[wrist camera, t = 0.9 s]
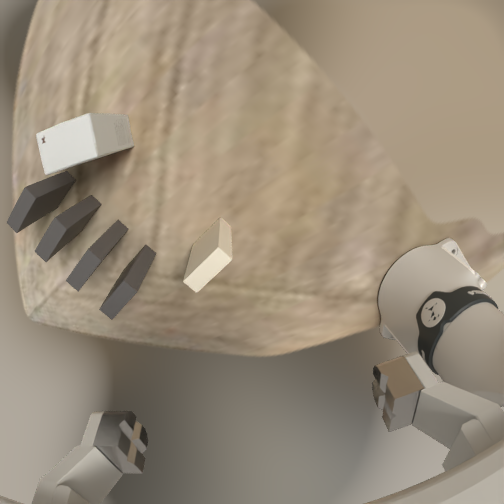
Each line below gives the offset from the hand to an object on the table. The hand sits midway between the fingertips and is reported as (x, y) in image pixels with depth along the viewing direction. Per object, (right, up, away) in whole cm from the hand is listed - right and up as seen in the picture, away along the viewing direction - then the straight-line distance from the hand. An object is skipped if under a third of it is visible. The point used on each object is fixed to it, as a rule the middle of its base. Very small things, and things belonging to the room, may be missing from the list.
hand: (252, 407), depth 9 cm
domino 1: (-25, +13, +26) cm, 38 cm away
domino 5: (-5, +7, +30) cm, 31 cm away
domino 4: (-15, +4, +31) cm, 34 cm away
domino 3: (-18, +7, +29) cm, 35 cm away
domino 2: (-21, +10, +28) cm, 36 cm away
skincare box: (-17, +19, +25) cm, 35 cm away
